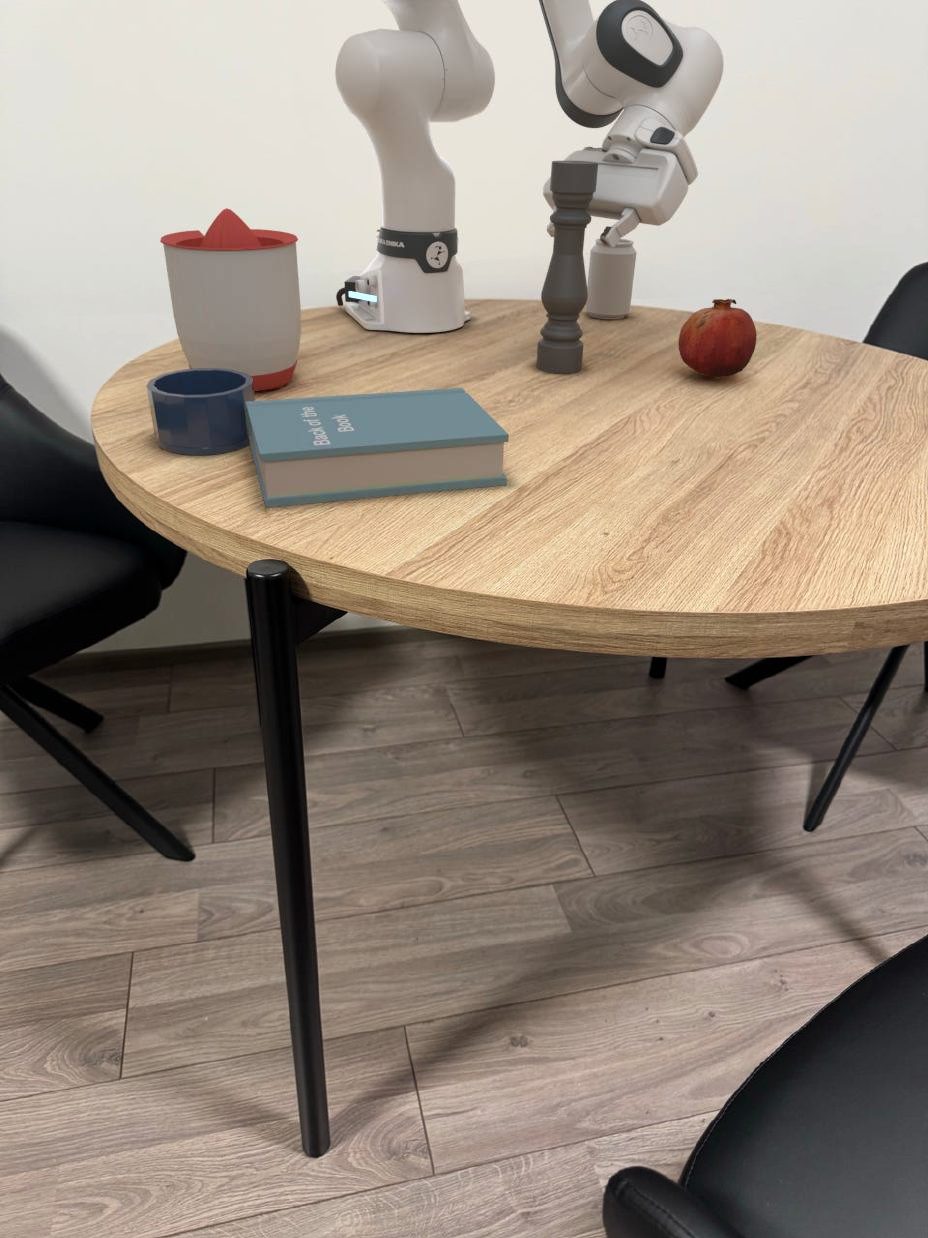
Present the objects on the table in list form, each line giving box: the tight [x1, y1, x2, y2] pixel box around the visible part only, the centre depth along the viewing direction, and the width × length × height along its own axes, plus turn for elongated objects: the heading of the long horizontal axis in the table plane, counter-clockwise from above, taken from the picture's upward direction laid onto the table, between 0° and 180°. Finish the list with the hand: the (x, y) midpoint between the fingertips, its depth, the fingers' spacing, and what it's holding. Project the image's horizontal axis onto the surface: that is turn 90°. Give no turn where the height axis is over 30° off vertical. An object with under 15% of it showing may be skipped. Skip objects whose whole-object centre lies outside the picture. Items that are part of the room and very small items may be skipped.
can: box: [584, 238, 637, 320], centre depth 146 cm, size 8×8×12 cm
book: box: [246, 387, 510, 509], centre depth 86 cm, size 23×16×5 cm
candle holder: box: [535, 160, 598, 375], centre depth 113 cm, size 6×6×25 cm
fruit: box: [678, 298, 757, 378], centre depth 115 cm, size 11×10×10 cm
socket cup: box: [146, 368, 256, 456], centre depth 91 cm, size 10×10×6 cm
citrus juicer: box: [159, 207, 302, 392], centre depth 106 cm, size 16×17×20 cm
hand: (578, 238), depth 112 cm, fingers open, 8 cm apart
